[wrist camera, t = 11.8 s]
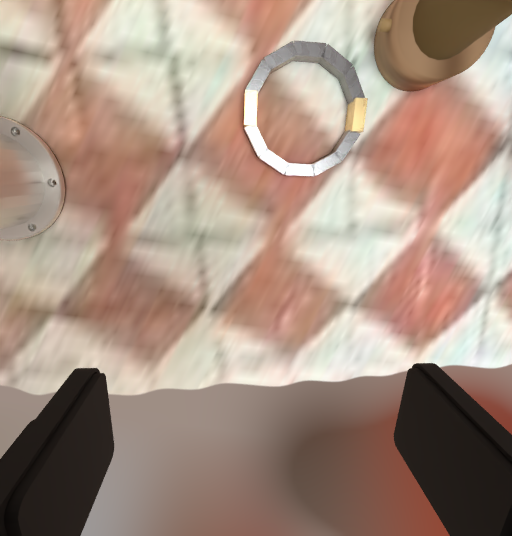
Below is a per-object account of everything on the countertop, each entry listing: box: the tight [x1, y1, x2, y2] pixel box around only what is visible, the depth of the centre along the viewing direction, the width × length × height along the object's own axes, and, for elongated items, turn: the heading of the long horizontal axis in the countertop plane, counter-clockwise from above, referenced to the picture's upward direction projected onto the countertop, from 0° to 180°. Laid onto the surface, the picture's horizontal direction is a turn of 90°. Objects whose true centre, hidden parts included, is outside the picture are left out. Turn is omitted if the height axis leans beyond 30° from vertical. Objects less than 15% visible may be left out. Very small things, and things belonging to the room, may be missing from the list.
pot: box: [374, 0, 495, 91], centre depth 30 cm, size 11×9×5 cm
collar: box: [243, 41, 368, 176], centre depth 32 cm, size 12×12×2 cm
